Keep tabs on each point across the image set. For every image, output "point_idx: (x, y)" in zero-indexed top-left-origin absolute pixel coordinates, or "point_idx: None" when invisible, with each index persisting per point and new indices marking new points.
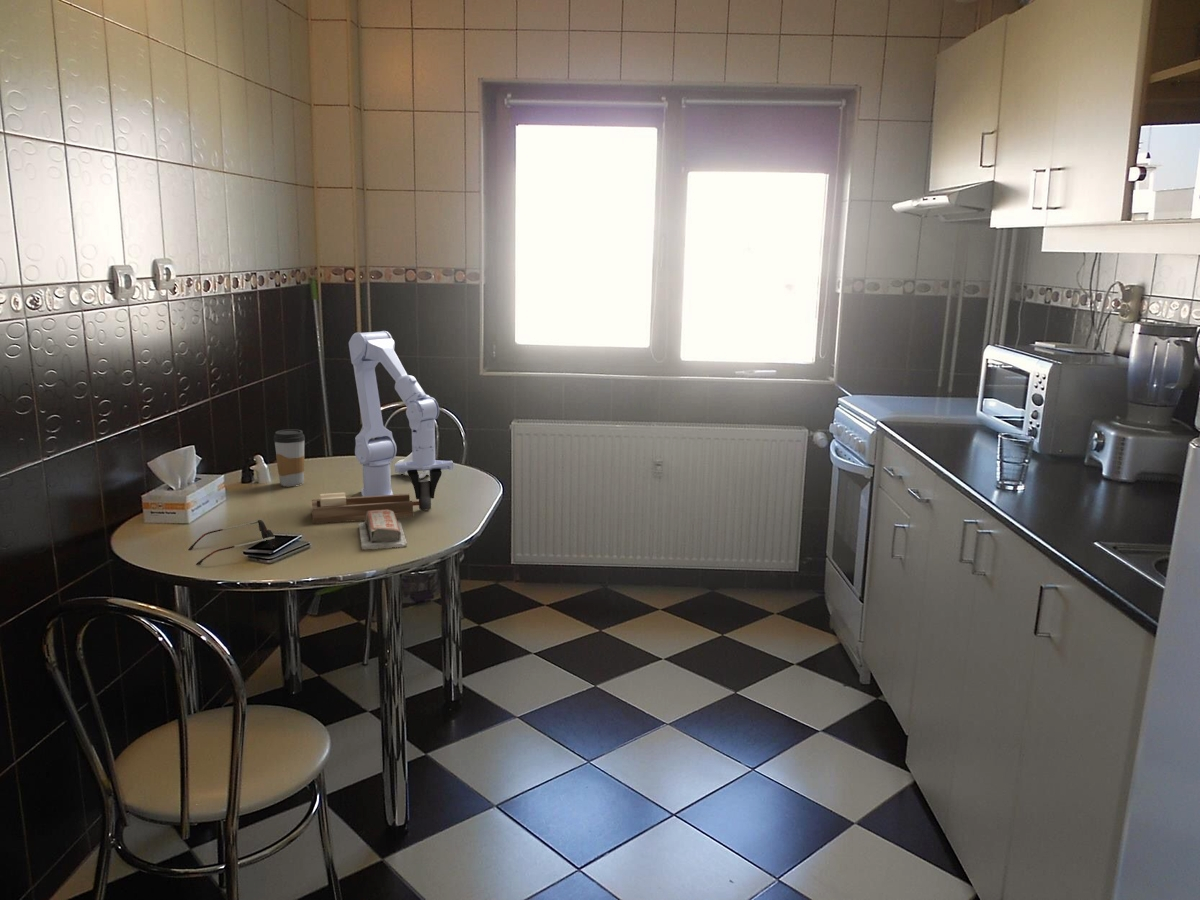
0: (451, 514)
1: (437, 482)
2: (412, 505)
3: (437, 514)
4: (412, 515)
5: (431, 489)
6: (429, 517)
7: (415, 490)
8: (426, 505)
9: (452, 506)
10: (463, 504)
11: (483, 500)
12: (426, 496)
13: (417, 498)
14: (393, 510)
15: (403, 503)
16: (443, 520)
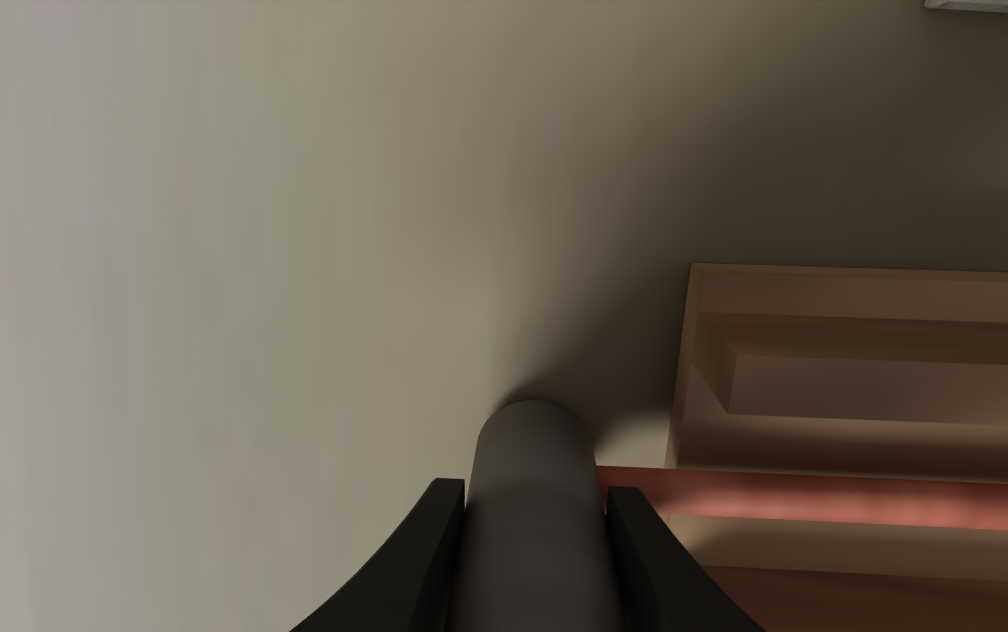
0: (298, 230)
1: (304, 621)
2: (726, 338)
3: (438, 270)
4: (705, 265)
5: (440, 563)
6: (536, 184)
7: (694, 560)
8: (528, 422)
9: (274, 479)
10: (175, 508)
11: (8, 566)
12: (524, 484)
13: (635, 492)
14: (939, 327)
15: (859, 357)
16: (401, 16)
